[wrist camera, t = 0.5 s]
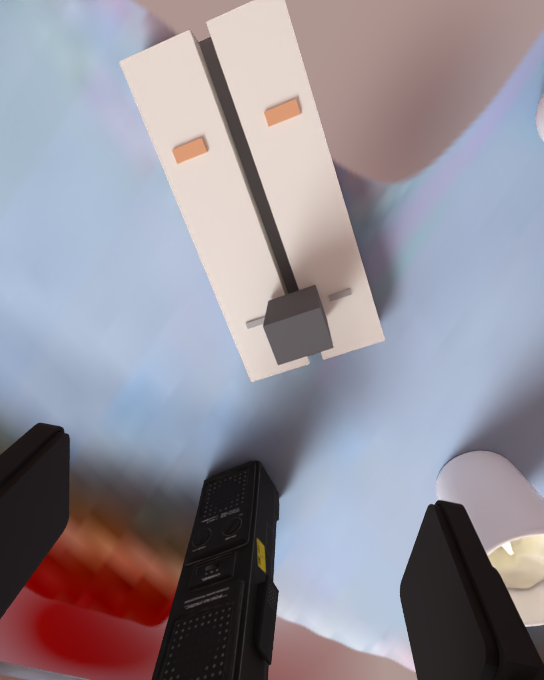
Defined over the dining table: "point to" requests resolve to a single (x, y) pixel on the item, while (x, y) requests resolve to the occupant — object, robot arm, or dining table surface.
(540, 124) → the sauce bottle
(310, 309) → the fader tab
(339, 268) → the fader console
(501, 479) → the candle holder
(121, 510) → the dining table surface
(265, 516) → the portable radio
